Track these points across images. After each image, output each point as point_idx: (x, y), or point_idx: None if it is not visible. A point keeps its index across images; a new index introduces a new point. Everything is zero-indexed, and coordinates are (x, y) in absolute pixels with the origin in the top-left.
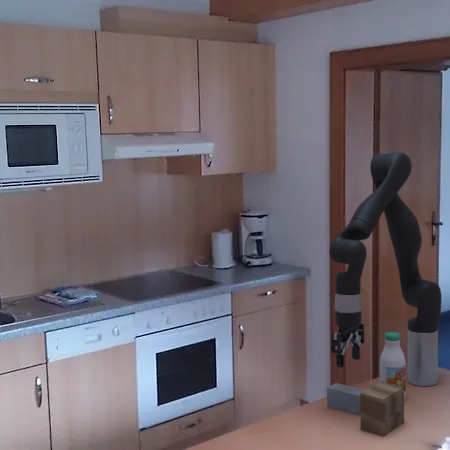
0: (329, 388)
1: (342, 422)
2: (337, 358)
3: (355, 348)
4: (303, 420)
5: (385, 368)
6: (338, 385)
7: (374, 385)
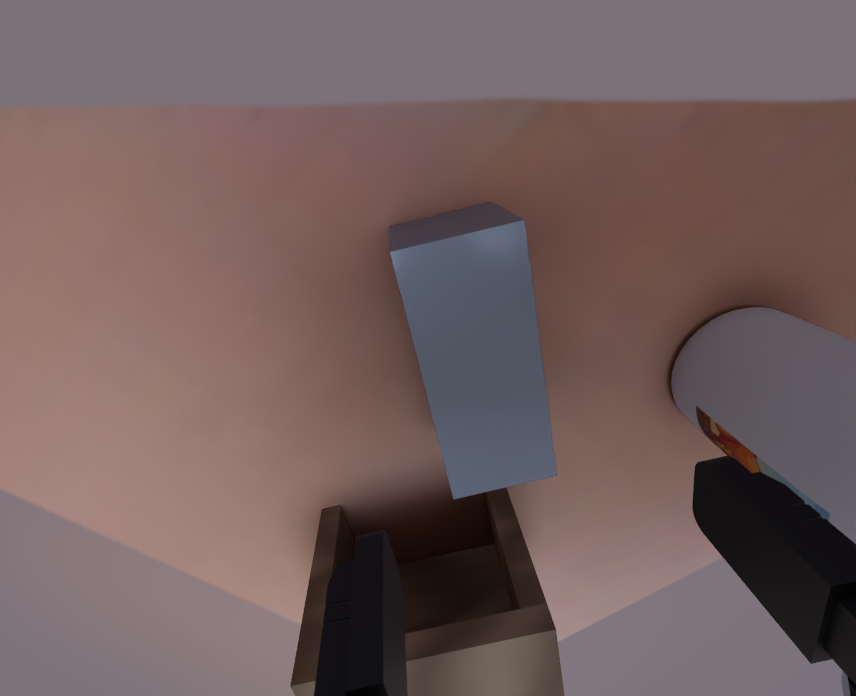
0: (396, 274)
1: (309, 419)
2: (325, 665)
3: (804, 610)
4: (141, 282)
5: (817, 499)
6: (496, 273)
7: (466, 649)
